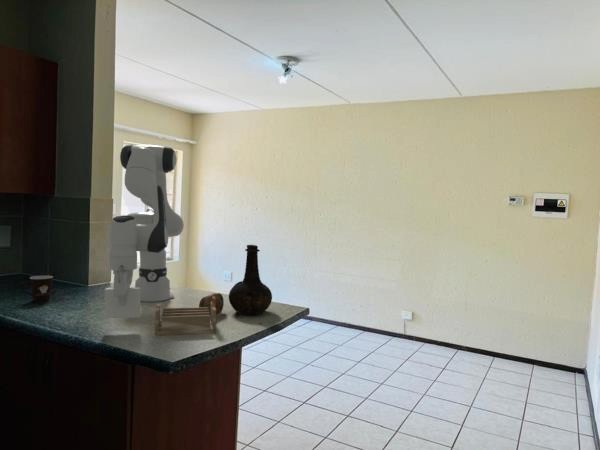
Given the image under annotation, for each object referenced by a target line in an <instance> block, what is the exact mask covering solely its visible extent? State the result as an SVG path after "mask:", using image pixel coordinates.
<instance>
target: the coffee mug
mask: <svg viewBox="0 0 600 450" xmlns="http://www.w3.org/2000/svg"><path fill="white" fill-rule="evenodd" d="M53 280H54V276H52V275H35V276H30V277H29V281H23V282H21V283H20V285H19V289H20V290H21V291H22V292H24V293H26V294H28V295H30V297H31V298H32V302H33V301H37V302H36V303H43V302H42V301H46V302H48V300H49V301H51V295H52V294H51V293H52V286H53ZM23 284H28V285H29V287H30V290H31V293H30V292H29V291H26V290H24V289H23V288H22V285H23Z"/></svg>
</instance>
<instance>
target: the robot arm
mask: <svg viewBox="0 0 600 450" xmlns="http://www.w3.org/2000/svg"><path fill="white" fill-rule="evenodd" d="M119 160H120V164H121V167H123V168H124V169H125V172H124V173H125V174H124V186H125V188H126V190H127V191H128V192H129V193H130V194H131V195H132V196H134V197H136V198H139V199H140V201H141V202H142V204H144V205H145V206H147V207H149V208H151V210H152V211H153V212H133V213H132V212H131V213H128V214H127V215H126V214H125V215H117V216H114V217H113V218H112V219H111V223H110V228H109V238H108V239H109V241H108V242H109V246H110V247H109V248H110V250H109V256H108V259H109V260H108V264H109V265H108V266H109V267H108V269H109V270H110V271H113V273H112V274H113V276H114V277H113V287H112V288H113V294H114V297H119V305H120V306H124V305H125V295H126V293H127V291H128V289H129V288H131V285H132V283H133V276H134V270H137V269H138V278H137V279H136V280H134V281H135V283H134V284H135V285H134V288H140V302H163V301H166V300H171V299H175V295H174V294H173V293H172V292H171V285H170V284H171V283H170V282H171V280H170V279H169V278H168V277H167V272H168V267H167V251H166V248H168V243H169V238H172V237H178V236H180V235H181V233H182V232H183V230H184V221H183V218H182V217H181V215H179V214H178V213H177V212H176V211H175V210H173V209H172V207H171V205H170V203H169V201H168V193H167V174H168V173H171V172H173V170H175V168H176V165H177V162H178V161H177V160H178V158H177V154H176V151H175V150H174V148H172V147H169V146H161V145H155V144H135V145H134V144H127V145H124V146H123V147H122V148H121V151H120V154H119ZM138 252H139V260H140V261H139V264H140V266H139V267H138Z"/></svg>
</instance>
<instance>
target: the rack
mask: <svg viewBox="0 0 600 450" xmlns="http://www.w3.org/2000/svg"><path fill="white" fill-rule="evenodd" d="M154 315H155V322H154V335H155V336H170V335H173V336H175V335H195V334H196V335H197V334H198V335H199V334H216V333H217V332H216V331H217V315H216V308H215V296H214V297H212V302H211V314H210V315H209V310H208V307H199V306H198V307H174V308H173V307H166V308H165V307H164V308H163V307H162V313H161V302H157V303H156V307H155V314H154Z"/></svg>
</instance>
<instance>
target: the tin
mask: <svg viewBox="0 0 600 450" xmlns="http://www.w3.org/2000/svg"><path fill="white" fill-rule="evenodd" d="M214 296H215V308H216V316H217V315H220V314H221V313H222V311H223V309H224V304H225V302H224V296H223V295H222V293H219V292H218V293H217V292H215V293H211V294H208V295H206V296H203V297H202V298H200V301H199V304H198V308H199V307H208V310H209V315H210V314H211V302H212V297H214Z"/></svg>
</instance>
